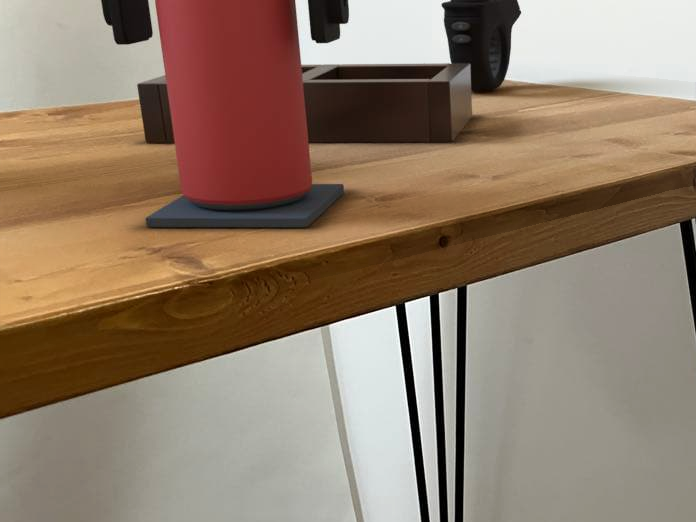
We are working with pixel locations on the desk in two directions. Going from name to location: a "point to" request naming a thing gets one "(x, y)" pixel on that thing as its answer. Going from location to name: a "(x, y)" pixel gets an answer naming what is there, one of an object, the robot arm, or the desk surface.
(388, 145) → the desk surface
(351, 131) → the divided wooden tray
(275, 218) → the coaster
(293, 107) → the beer can
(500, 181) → the desk surface
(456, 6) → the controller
